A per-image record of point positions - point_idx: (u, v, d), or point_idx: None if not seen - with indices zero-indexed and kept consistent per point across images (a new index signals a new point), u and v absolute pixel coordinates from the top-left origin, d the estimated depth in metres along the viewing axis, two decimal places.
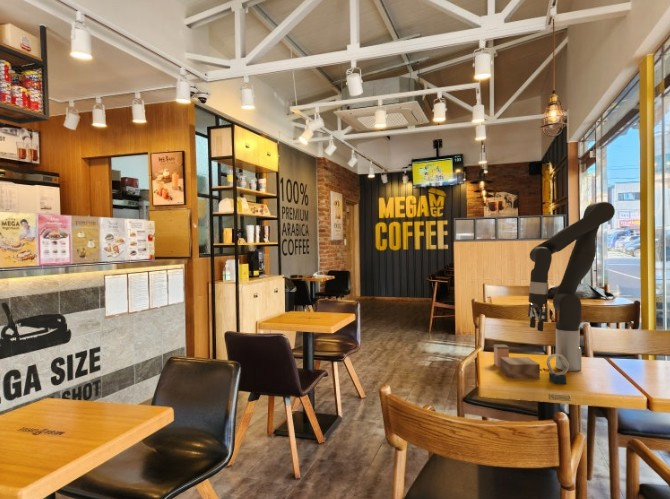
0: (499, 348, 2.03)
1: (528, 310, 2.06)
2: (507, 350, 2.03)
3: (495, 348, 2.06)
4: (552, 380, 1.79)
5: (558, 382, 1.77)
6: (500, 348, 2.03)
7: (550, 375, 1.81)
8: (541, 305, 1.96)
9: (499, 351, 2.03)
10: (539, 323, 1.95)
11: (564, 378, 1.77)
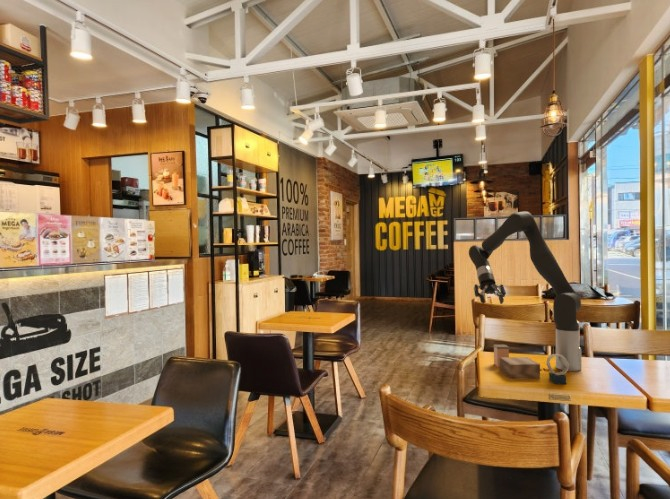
0: (499, 348, 2.03)
1: (503, 292, 2.22)
2: (507, 350, 2.03)
3: (495, 348, 2.06)
4: (552, 380, 1.79)
5: (558, 382, 1.77)
6: (500, 348, 2.03)
7: (550, 375, 1.81)
8: (480, 284, 2.24)
9: (499, 351, 2.03)
10: None
11: (564, 378, 1.77)
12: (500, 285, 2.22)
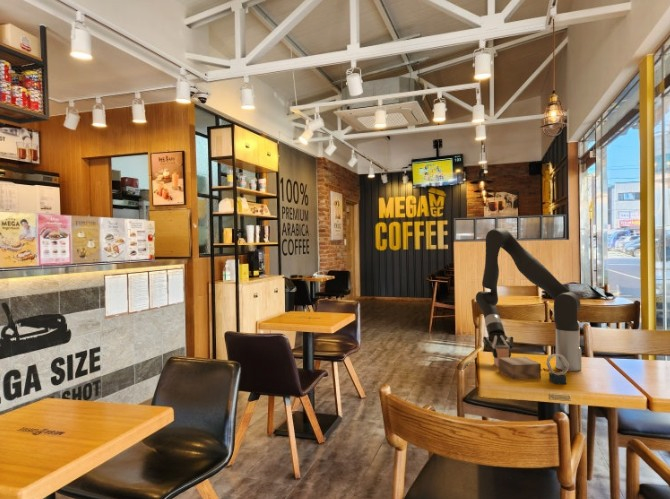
0: (499, 348, 2.03)
1: None
2: (507, 350, 2.03)
3: (495, 348, 2.06)
4: (552, 380, 1.79)
5: (558, 382, 1.77)
6: (500, 348, 2.03)
7: (550, 375, 1.81)
8: (488, 335, 2.12)
9: (499, 351, 2.03)
10: None
11: (564, 378, 1.77)
12: (510, 337, 2.09)
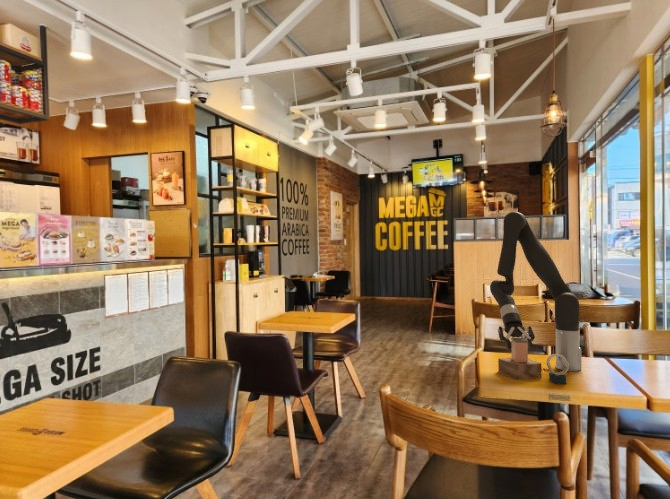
0: (517, 342, 1.89)
1: None
2: (526, 344, 1.89)
3: (513, 342, 1.92)
4: (552, 380, 1.79)
5: (558, 382, 1.77)
6: (518, 342, 1.89)
7: (550, 375, 1.81)
8: (505, 326, 1.97)
9: (518, 345, 1.89)
10: None
11: (564, 378, 1.77)
12: (528, 327, 1.96)
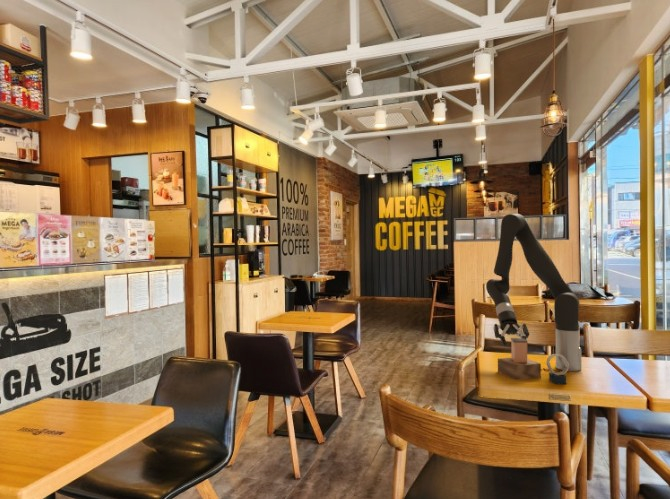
0: (516, 342, 1.89)
1: None
2: (525, 344, 1.88)
3: (512, 342, 1.92)
4: (552, 380, 1.79)
5: (558, 382, 1.77)
6: (518, 342, 1.89)
7: (550, 375, 1.81)
8: (500, 324, 2.03)
9: (517, 345, 1.89)
10: None
11: (564, 378, 1.77)
12: (523, 325, 2.02)
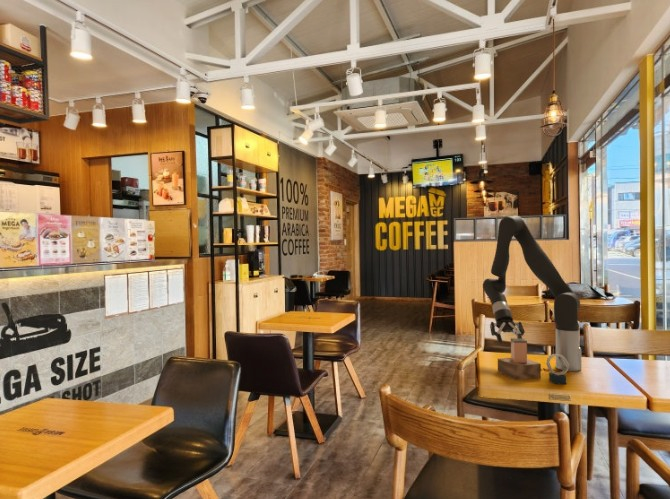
0: (516, 342, 1.88)
1: None
2: (525, 344, 1.88)
3: (512, 342, 1.91)
4: (552, 380, 1.79)
5: (558, 382, 1.77)
6: (517, 342, 1.88)
7: (550, 375, 1.81)
8: (496, 322, 2.09)
9: (517, 346, 1.88)
10: None
11: (564, 378, 1.77)
12: (518, 323, 2.07)
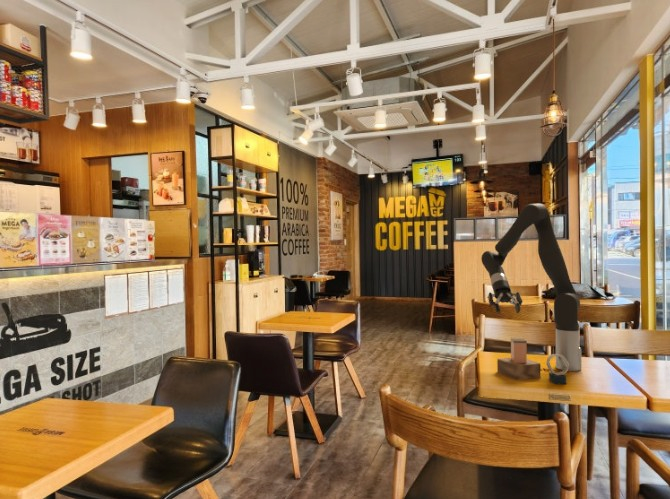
0: (515, 342, 1.88)
1: None
2: (525, 344, 1.88)
3: (512, 342, 1.91)
4: (552, 380, 1.79)
5: (558, 382, 1.77)
6: (517, 342, 1.88)
7: (550, 375, 1.81)
8: (494, 292, 2.11)
9: (516, 346, 1.88)
10: None
11: (564, 378, 1.77)
12: (516, 293, 2.10)
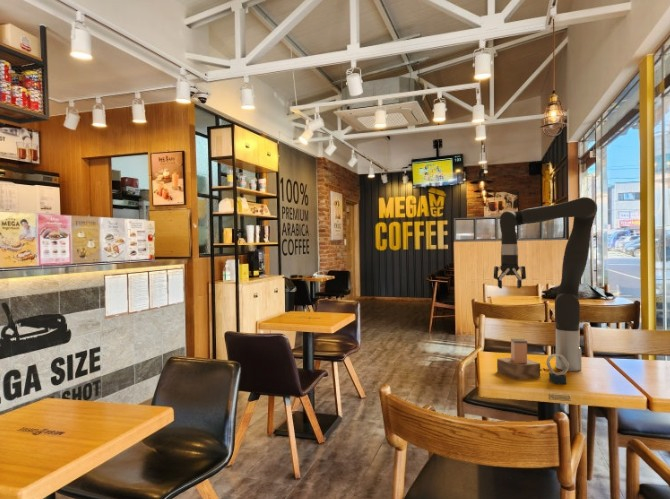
0: (516, 342, 1.88)
1: None
2: (525, 345, 1.87)
3: (512, 342, 1.91)
4: (552, 380, 1.79)
5: (558, 382, 1.77)
6: (517, 342, 1.88)
7: (550, 375, 1.81)
8: (501, 265, 2.14)
9: (517, 346, 1.88)
10: None
11: (564, 378, 1.77)
12: (522, 267, 2.12)
